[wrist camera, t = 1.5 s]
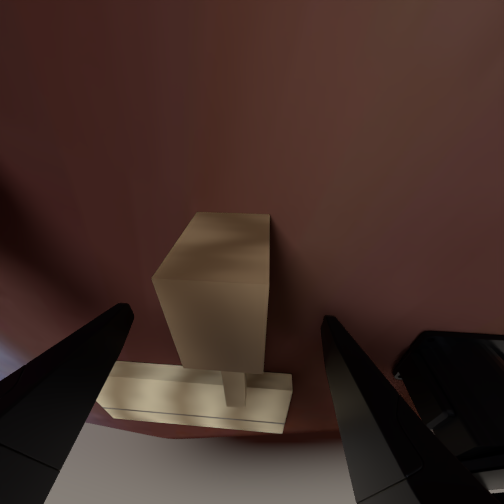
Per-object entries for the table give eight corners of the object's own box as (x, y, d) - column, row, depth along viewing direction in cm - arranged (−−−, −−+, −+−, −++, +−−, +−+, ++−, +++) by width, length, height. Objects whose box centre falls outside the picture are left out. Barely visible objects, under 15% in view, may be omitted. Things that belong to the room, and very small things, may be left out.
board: (291, 374, 21) (292, 391, 20) (281, 419, 28) (281, 434, 27) (79, 358, 22) (68, 373, 21) (120, 404, 29) (113, 418, 28)
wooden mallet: (269, 214, 11) (269, 284, 7) (261, 365, 21) (258, 439, 16) (197, 211, 12) (151, 278, 7) (220, 362, 21) (206, 434, 16)
